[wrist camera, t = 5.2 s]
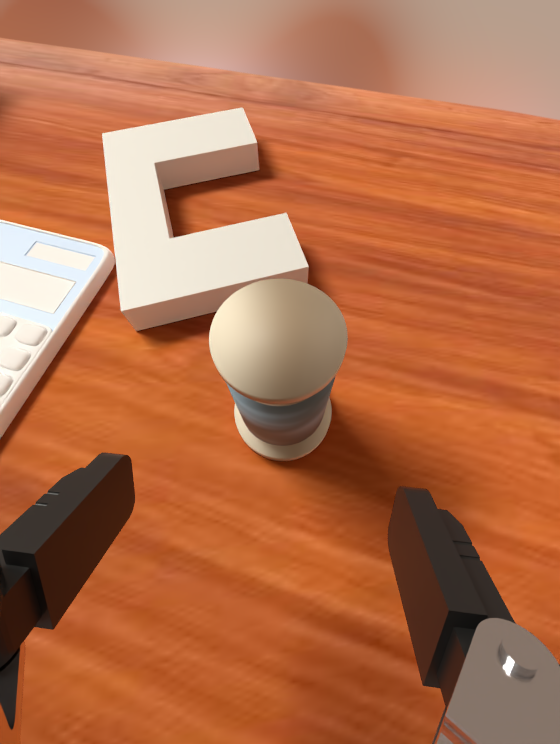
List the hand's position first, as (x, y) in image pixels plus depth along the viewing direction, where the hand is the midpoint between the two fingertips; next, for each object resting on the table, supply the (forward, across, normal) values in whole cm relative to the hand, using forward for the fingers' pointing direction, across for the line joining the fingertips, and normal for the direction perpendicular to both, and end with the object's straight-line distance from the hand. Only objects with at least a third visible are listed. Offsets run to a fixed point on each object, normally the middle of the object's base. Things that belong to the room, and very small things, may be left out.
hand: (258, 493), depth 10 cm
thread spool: (+11, 0, +3) cm, 12 cm away
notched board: (+23, +9, -9) cm, 26 cm away
